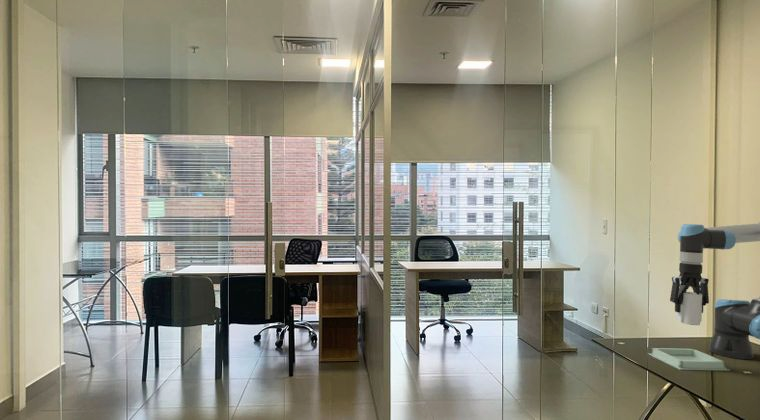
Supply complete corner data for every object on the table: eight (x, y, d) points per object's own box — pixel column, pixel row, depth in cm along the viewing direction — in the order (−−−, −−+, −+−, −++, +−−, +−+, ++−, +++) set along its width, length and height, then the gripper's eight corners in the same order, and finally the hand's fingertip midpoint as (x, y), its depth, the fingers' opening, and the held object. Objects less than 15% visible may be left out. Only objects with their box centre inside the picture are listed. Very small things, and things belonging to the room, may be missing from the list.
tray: (693, 355, 186) (693, 348, 186) (730, 370, 168) (730, 362, 168) (647, 354, 185) (648, 347, 185) (679, 369, 167) (680, 362, 167)
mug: (701, 326, 171) (702, 295, 171) (680, 323, 174) (681, 292, 175) (699, 322, 179) (701, 292, 179) (679, 319, 183) (681, 290, 183)
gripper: (707, 262, 181) (704, 319, 181) (660, 261, 180) (658, 317, 180) (722, 264, 174) (720, 323, 174) (673, 263, 172) (671, 322, 172)
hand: (688, 320), depth 177 cm, fingers closed on mug, 7 cm apart
